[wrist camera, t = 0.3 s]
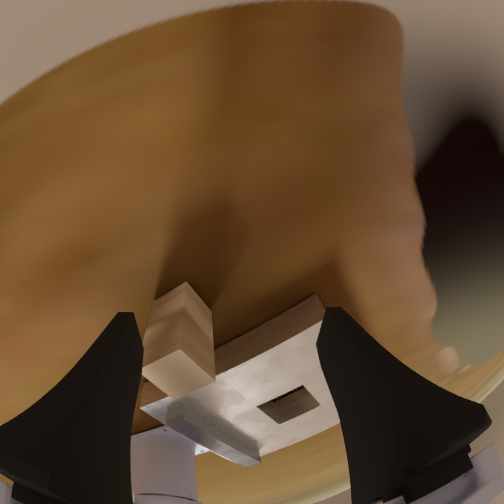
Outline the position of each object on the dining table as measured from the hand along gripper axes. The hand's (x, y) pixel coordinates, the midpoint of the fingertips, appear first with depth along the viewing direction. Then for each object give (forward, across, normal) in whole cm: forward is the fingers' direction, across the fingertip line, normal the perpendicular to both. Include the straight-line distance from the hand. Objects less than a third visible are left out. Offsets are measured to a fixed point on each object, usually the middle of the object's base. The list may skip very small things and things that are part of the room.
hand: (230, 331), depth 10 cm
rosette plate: (+8, -4, +17) cm, 19 cm away
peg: (+9, +3, +6) cm, 11 cm away
